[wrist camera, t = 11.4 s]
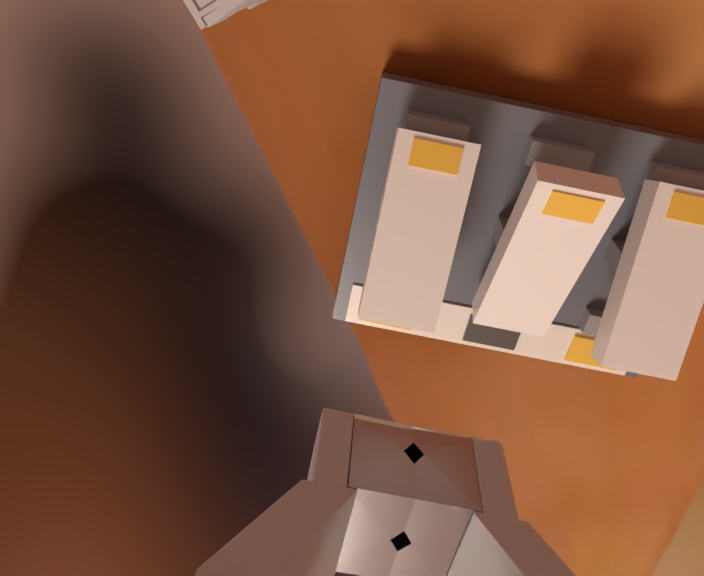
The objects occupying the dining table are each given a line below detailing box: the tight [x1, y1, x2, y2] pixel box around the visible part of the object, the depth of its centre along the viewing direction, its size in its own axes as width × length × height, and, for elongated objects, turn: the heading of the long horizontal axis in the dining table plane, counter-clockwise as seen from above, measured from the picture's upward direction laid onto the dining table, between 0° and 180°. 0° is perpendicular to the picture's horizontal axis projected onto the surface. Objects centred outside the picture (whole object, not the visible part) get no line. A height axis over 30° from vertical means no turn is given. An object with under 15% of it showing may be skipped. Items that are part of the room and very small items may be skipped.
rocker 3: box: [590, 179, 704, 381], centre depth 39 cm, size 12×5×2 cm, turn 169°
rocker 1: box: [358, 128, 481, 333], centre depth 39 cm, size 12×5×2 cm, turn 169°
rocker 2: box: [472, 161, 625, 337], centre depth 39 cm, size 12×5×2 cm, turn 169°
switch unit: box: [333, 72, 704, 377], centre depth 43 cm, size 18×24×5 cm
